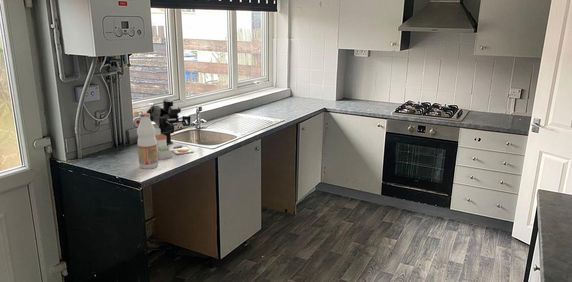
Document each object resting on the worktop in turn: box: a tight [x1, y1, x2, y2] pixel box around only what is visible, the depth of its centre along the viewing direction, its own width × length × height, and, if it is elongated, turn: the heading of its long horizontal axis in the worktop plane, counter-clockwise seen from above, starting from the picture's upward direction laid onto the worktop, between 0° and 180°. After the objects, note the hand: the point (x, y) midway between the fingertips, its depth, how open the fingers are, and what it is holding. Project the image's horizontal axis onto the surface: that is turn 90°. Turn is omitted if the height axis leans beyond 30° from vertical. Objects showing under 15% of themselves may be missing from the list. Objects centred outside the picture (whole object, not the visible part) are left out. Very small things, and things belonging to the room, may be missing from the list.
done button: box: [158, 145, 170, 152], centre depth 240 cm, size 4×4×2 cm
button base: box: [157, 148, 173, 160], centre depth 240 cm, size 7×7×4 cm
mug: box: [155, 127, 161, 135], centre depth 259 cm, size 12×8×10 cm
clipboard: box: [169, 145, 195, 156], centre depth 252 cm, size 12×10×2 cm
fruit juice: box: [136, 112, 159, 170], centre depth 221 cm, size 9×9×28 cm
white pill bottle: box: [155, 134, 168, 149], centre depth 248 cm, size 5×5×10 cm
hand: (179, 125), depth 243 cm, fingers open, 9 cm apart
